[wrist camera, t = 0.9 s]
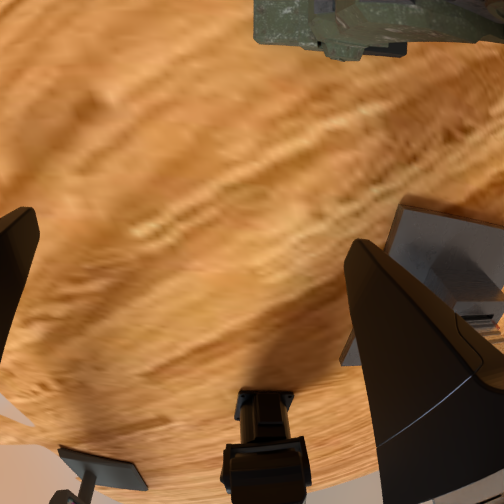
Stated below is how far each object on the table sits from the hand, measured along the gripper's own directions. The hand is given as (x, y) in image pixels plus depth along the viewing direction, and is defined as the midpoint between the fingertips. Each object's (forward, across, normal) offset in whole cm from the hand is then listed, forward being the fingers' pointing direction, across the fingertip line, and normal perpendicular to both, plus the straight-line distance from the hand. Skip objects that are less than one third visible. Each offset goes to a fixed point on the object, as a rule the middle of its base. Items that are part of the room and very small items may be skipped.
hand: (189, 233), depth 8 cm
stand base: (+11, -25, +13) cm, 30 cm away
